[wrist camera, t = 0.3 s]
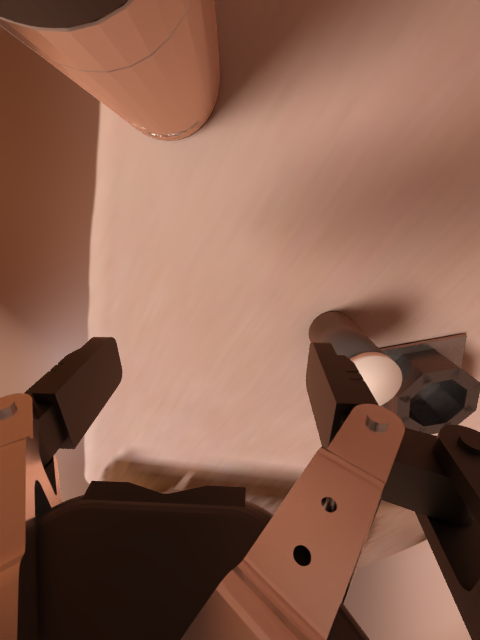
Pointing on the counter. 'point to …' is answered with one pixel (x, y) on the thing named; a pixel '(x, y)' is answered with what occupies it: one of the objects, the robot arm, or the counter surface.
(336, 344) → the grey round peg
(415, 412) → the hex nut base plate
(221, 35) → the counter surface
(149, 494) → the robot arm
